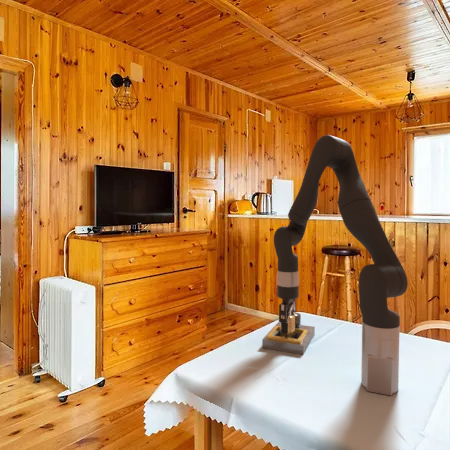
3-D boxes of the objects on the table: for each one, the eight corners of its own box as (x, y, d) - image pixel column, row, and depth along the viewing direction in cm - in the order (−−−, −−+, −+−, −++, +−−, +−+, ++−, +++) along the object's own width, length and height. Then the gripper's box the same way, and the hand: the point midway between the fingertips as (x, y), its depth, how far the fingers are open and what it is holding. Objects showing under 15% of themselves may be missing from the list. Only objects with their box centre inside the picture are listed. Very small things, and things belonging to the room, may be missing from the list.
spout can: (293, 347, 125) (293, 313, 124) (278, 345, 127) (278, 311, 126) (296, 342, 129) (296, 309, 129) (282, 340, 132) (282, 307, 131)
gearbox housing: (303, 354, 119) (303, 330, 119) (262, 348, 125) (262, 325, 124) (314, 334, 137) (314, 313, 137) (278, 329, 143) (278, 309, 143)
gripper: (293, 288, 119) (293, 337, 120) (302, 280, 132) (302, 324, 133) (271, 286, 122) (271, 334, 123) (282, 278, 135) (282, 322, 136)
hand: (287, 329), depth 128 cm, fingers open, 8 cm apart
